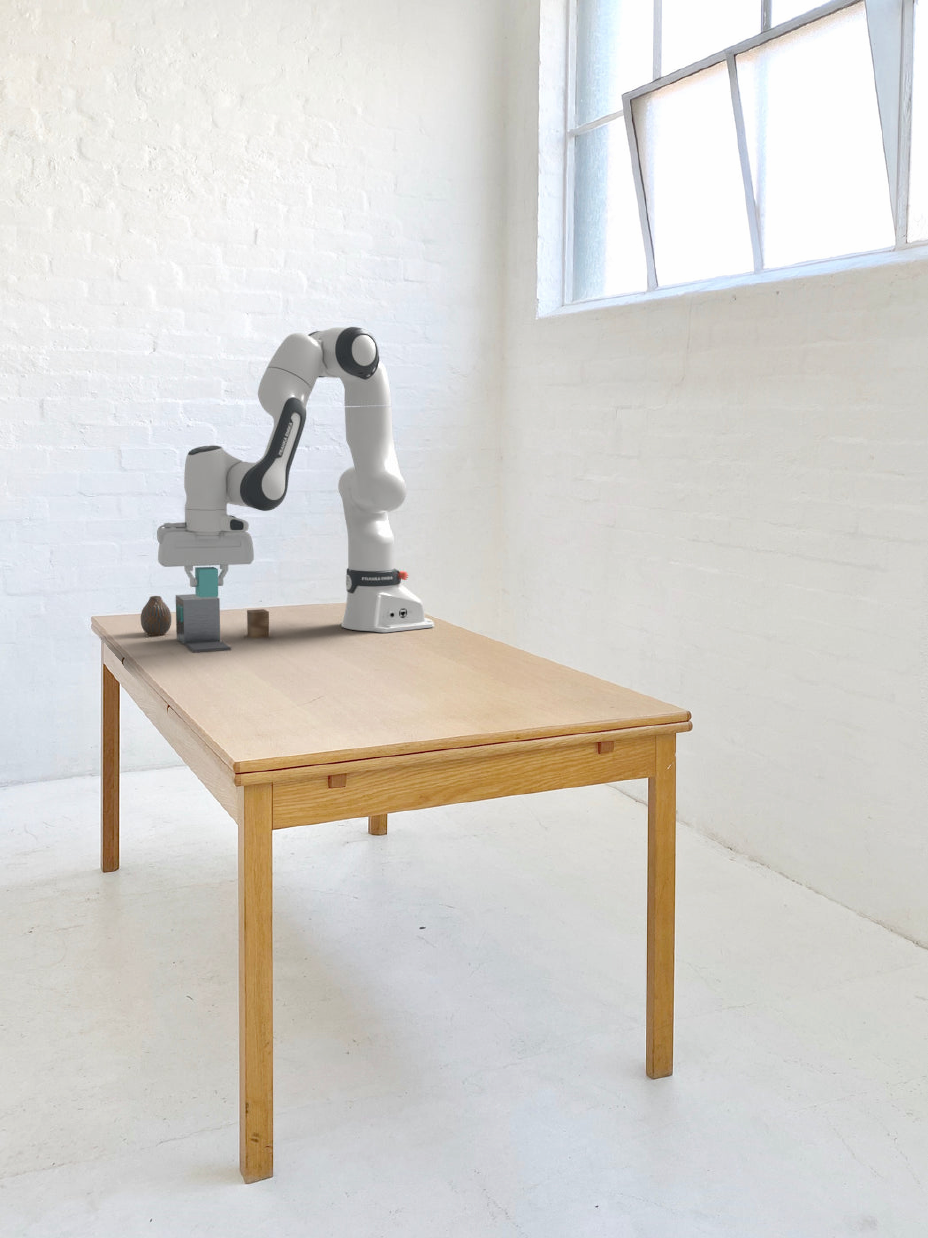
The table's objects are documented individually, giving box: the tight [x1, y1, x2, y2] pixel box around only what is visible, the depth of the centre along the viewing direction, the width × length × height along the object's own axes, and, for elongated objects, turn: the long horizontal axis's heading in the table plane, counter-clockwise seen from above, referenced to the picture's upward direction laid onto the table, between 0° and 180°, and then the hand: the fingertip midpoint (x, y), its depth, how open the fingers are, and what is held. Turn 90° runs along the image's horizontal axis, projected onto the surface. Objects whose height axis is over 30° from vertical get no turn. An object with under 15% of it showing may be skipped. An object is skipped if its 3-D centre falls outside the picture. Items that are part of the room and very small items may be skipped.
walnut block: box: [246, 608, 270, 640], centre depth 275 cm, size 4×4×6 cm
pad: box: [186, 640, 232, 653], centre depth 261 cm, size 8×7×1 cm
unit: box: [175, 593, 221, 646], centre depth 268 cm, size 8×8×10 cm
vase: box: [140, 595, 172, 636], centre depth 276 cm, size 7×7×9 cm
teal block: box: [194, 566, 219, 598], centre depth 258 cm, size 4×4×6 cm
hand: (206, 586), depth 258 cm, fingers closed on teal block, 4 cm apart
